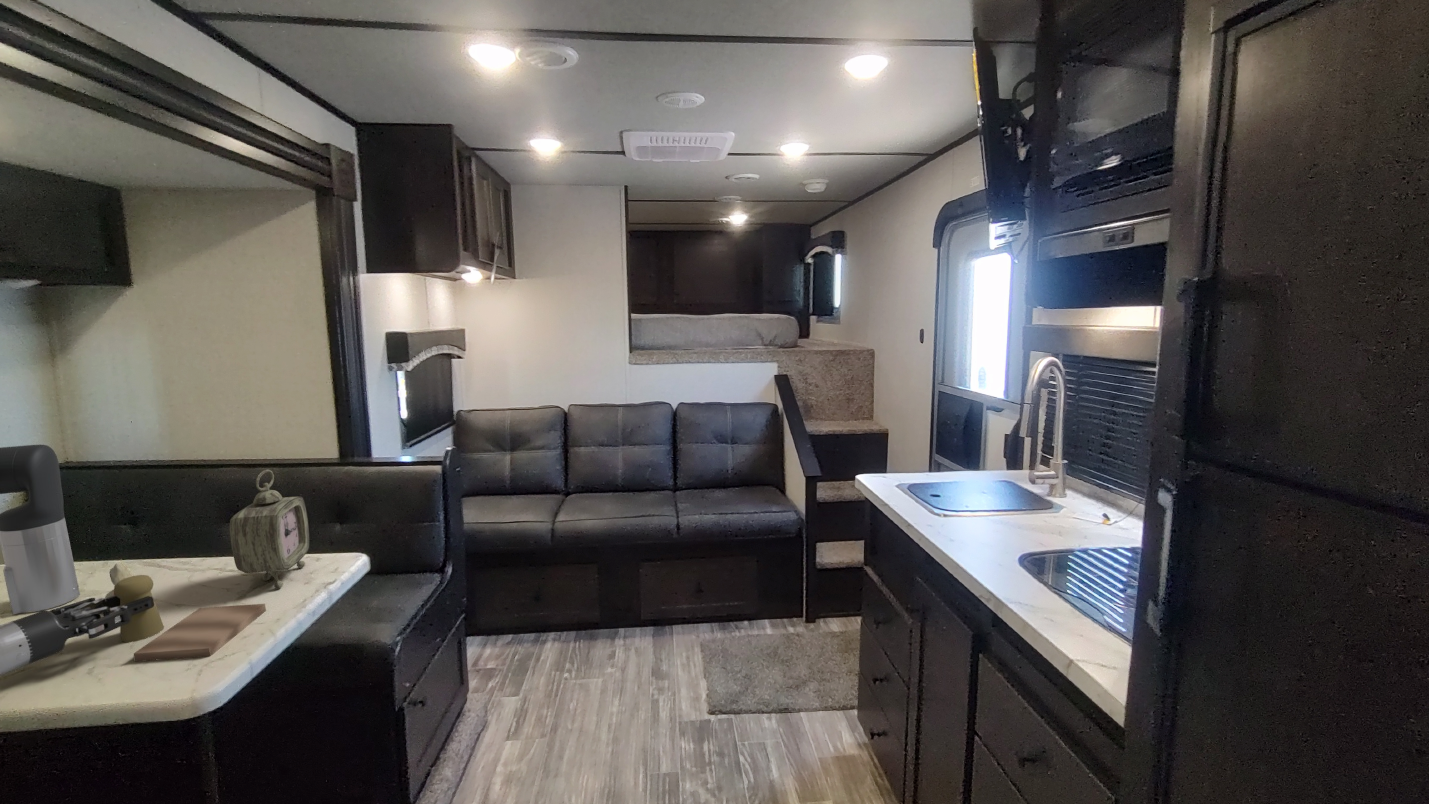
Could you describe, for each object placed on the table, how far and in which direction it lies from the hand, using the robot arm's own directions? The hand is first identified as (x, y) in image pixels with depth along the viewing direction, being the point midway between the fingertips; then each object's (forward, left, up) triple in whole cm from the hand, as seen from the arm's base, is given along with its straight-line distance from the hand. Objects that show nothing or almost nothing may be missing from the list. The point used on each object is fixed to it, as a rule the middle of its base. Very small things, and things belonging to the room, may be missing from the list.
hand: (142, 598), depth 114 cm
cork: (-1, -1, -7) cm, 7 cm away
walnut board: (+8, -9, -7) cm, 14 cm away
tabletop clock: (+21, +10, -7) cm, 24 cm away
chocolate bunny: (-4, +15, -7) cm, 17 cm away
